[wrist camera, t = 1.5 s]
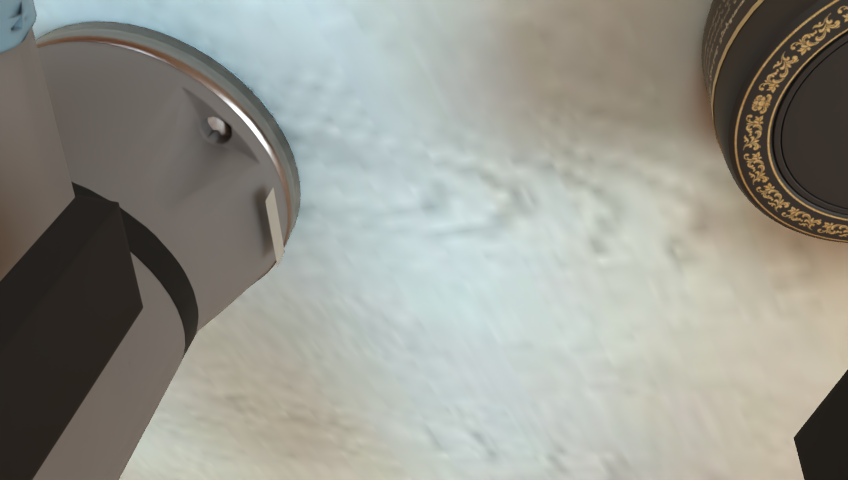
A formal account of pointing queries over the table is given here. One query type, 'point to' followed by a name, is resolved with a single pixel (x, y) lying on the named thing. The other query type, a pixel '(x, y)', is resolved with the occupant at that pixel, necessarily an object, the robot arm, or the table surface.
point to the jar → (783, 107)
